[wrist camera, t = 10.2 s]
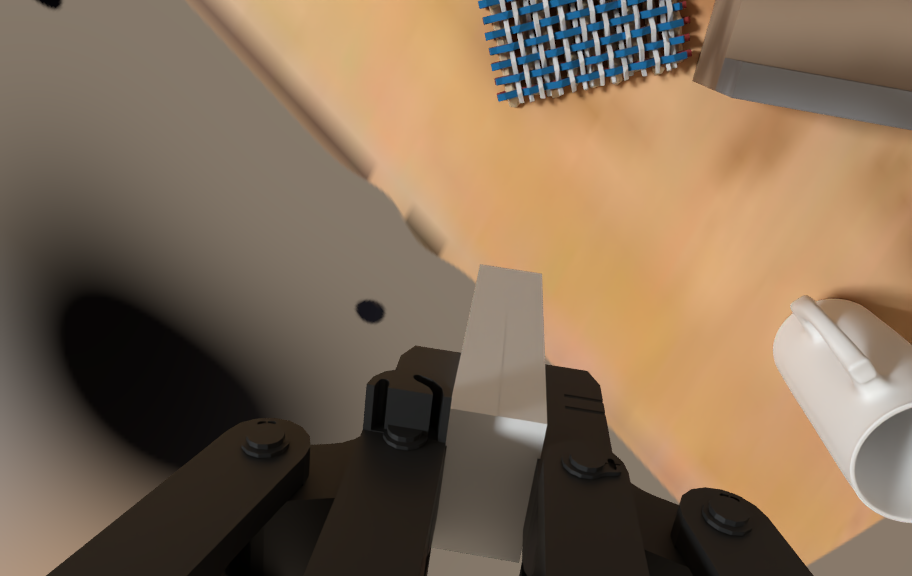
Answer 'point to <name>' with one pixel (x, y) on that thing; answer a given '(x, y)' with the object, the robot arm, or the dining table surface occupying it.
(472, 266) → the dining table surface
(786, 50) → the track
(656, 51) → the woven mat
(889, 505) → the mug
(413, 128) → the dining table surface
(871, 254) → the dining table surface
